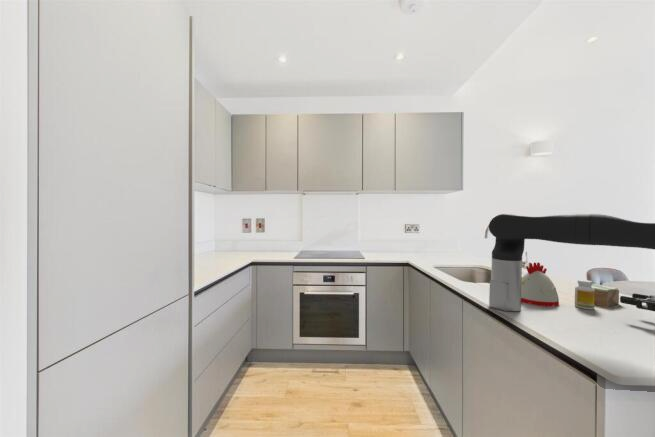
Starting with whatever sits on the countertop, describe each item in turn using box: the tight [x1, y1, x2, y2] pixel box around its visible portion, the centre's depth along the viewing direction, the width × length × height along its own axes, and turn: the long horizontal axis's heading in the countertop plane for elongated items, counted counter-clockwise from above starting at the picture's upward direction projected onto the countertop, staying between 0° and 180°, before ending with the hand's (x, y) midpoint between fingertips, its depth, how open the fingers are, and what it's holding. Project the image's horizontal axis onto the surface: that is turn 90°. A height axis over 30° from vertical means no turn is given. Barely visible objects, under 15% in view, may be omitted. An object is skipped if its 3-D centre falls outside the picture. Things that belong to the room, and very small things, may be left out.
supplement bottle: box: [574, 279, 595, 310], centre depth 107 cm, size 5×5×10 cm
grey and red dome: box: [521, 262, 560, 307], centre depth 115 cm, size 14×14×15 cm
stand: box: [591, 283, 620, 308], centre depth 115 cm, size 9×9×6 cm
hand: (626, 297), depth 97 cm, fingers open, 8 cm apart
